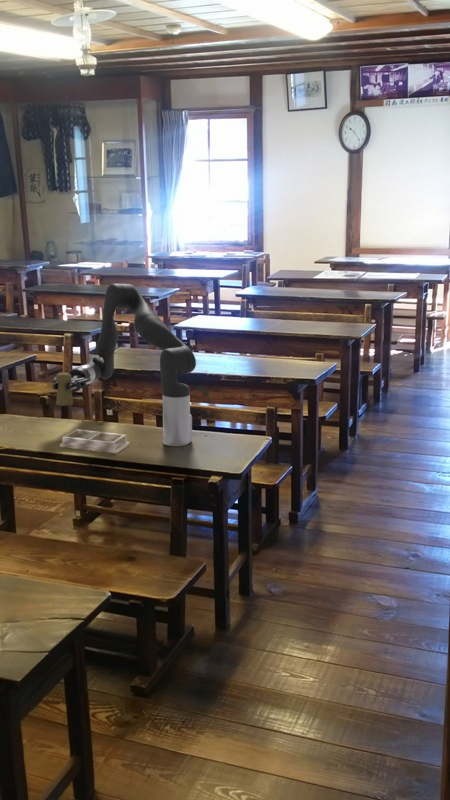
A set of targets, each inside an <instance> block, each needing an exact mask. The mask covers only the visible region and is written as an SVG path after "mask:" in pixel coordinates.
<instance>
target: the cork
mask: <svg viewBox="0 0 450 800" xmlns="http://www.w3.org/2000/svg"><path fill="white" fill-rule="evenodd" d="M55 377H56V381H57V382H58V388H57V389H56V401H55V404H56V405H57V406H62V407H63V406H72V405H73V404H74V399H73V394H72V393H73V392H72V389H70V390H68V391H66V390H65V385H66V384H67V383H70V381H71V375H70V374H69V372H59V373H56V376H55Z"/></svg>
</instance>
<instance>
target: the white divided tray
mask: <svg viewBox="0 0 450 800" xmlns="http://www.w3.org/2000/svg"><path fill="white" fill-rule="evenodd" d="M127 436H128V435H127V434H121V433H116V432H115V433H113V432H107V431H106V432H104V431H96V430H87V429H75V430H73V431H71V432H70V433H68V434H65V435H64V436H62V437H61V438H62V442H61V443H59V447H60V448H65V447H67V449H74V450H75V449H76V450H84V451H90V450H91V451H92V452H100V453H108V454H116V455H117V454H119V453H120V452H121V451H123V450H124V449H126V448H127V447H129V446H130V441H128V440H127Z"/></svg>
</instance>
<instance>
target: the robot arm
mask: <svg viewBox="0 0 450 800" xmlns="http://www.w3.org/2000/svg"><path fill="white" fill-rule="evenodd" d="M104 295H105V297H104V302H103V311H102V320H101V329H100V333H99V337H98V340H97V344H96V346H95V351H96V354H97V355H92V356H90V357H89V359H88V360H87V362H86V363H85V364H82V365H79V366H77V367H75V368H73V369H71V370H70V371H68V373H69V374H70V375H71V381H70V383H67V384H66V385H65V390H66V391H68V390H70V389H71V390H73V389H75V390H81V389H83V388H87V387H90V385H91V383H93V382H95V381H97V379H98V378H100V379H102V380H108V379H110V378H111V377H112V375H113V373H114V370H115V351H116V347H117V344H118V340H119V334H118V332H119V331H118V330H117V326H116V322H115V317H114V316H115V312H116V310H129V311H131V312H133V314H134V320H133V321H134V322H133V324H134V325H133V326H134V329H135V331H136V332H137V334H138V335H139V336H140V338H141V339H142V340H144V341H145V343H148V344H149V345H150V346H153V347H155V348H158V349H159V350H162V351H161V353H160V357H159V368H160V382H161V383H160V385H161V389H162V437H163V438H162V439H163V441H162V443H163V444H164V445H165V446H169V447H183V446H187V445H189V444H190V443H192V442H193V416H192V414H191V389H190V385H187V384H185V383H181V382H179V381H178V377H177V376H181V375H187V374H190V373H192V372H193V371H194V370H195V369H196V365H197V360H196V356H195V355H194V352H193V351H192V350H191V348H190V347H189V346H188V345H186V344H185V343H184V342H183V341H182V340H180V338H178V337H177V336H176V335H175V334H174V333H173V332H172V330H171V329H169V328H168V326H167V325H166V324H165V323H164V322H163V320H162V319H161V318H160V317H159V316H158V315H157V314H156V312H155V311H154V310H153V309H152V308H151V307H150V305H148V303H147V302H146V300H145V299H144V297H143V296H142V294H141V292H139V290H138V289H137V288H136V286H135V285H133V284H131V283H130V284H129V283H111V284H109V285H108V286H107V289H106V292H105V294H104ZM98 355H99V356H98ZM52 381H53V383H52V389H53V390H56V391H57V388H58V382H57V381H56V376H55V377H54V378H53V380H52Z"/></svg>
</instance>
